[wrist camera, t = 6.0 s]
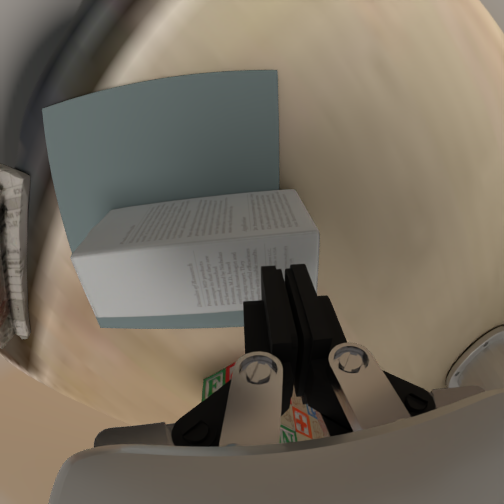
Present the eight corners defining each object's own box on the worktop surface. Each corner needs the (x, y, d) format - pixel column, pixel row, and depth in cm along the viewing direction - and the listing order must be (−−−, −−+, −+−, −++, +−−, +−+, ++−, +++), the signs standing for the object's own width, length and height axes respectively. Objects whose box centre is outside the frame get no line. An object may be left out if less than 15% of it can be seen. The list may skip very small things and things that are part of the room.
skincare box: (297, 248, 20) (125, 262, 20) (297, 187, 18) (109, 206, 18) (317, 308, 14) (94, 320, 15) (322, 231, 12) (66, 253, 12)
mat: (275, 70, 15) (277, 70, 14) (276, 319, 23) (277, 324, 23) (46, 108, 14) (42, 108, 14) (102, 323, 23) (100, 327, 23)
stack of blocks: (351, 420, 34) (371, 497, 23) (312, 437, 36) (326, 512, 25) (249, 351, 25) (258, 482, 15) (200, 378, 27) (193, 494, 16)
